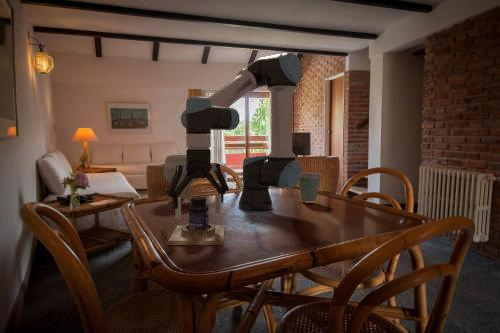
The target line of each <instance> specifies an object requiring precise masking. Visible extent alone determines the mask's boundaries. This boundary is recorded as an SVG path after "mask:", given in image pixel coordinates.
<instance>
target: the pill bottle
mask: <svg viewBox="0 0 500 333" xmlns="http://www.w3.org/2000/svg"><path fill="white" fill-rule="evenodd" d="M191 202H192V203H191V205H190V206H189V207H188V224H189V230H193V231H202V230H208V229H209V223H210V221H209V220H210V218H209V206H208V205H207V204H206V203H207V197H204V196H195V197H193V198H191Z"/></svg>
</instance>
